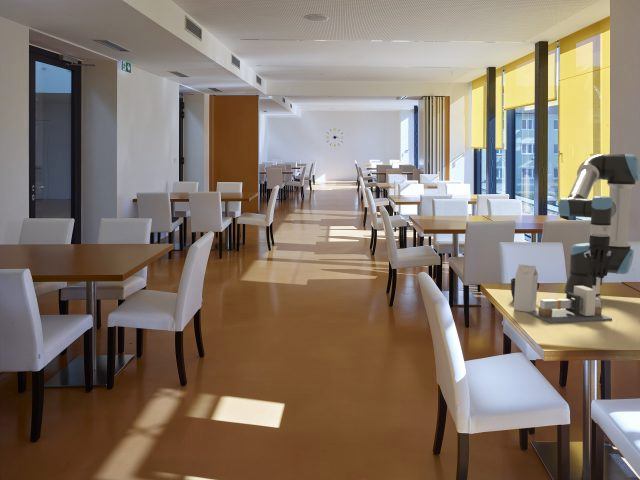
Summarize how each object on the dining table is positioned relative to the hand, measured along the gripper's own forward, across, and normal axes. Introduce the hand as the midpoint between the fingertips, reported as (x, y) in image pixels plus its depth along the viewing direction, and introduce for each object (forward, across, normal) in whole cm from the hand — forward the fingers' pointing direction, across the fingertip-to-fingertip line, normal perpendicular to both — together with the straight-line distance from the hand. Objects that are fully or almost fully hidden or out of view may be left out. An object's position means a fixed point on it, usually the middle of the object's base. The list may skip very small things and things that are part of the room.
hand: (595, 293), depth 276 cm
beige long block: (+9, -11, 0) cm, 14 cm away
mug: (+10, -15, +29) cm, 34 cm away
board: (+9, -11, 0) cm, 14 cm away
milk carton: (+10, -23, +14) cm, 29 cm away
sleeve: (+8, -5, 0) cm, 9 cm away
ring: (+7, -10, 0) cm, 12 cm away
